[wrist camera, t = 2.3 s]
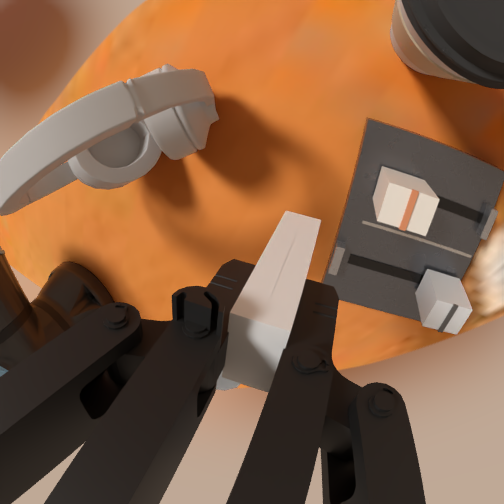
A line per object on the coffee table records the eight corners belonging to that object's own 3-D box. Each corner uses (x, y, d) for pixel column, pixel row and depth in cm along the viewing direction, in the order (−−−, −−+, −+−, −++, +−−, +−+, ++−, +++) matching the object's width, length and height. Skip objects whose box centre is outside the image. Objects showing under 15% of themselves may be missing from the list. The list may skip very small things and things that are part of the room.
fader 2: (415, 293, 28) (422, 327, 24) (427, 268, 27) (437, 300, 22) (446, 302, 27) (456, 335, 23) (459, 278, 26) (473, 310, 22)
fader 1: (372, 198, 25) (376, 222, 21) (382, 165, 24) (389, 182, 19) (413, 211, 25) (425, 237, 20) (424, 179, 23) (440, 199, 19)
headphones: (123, 185, 35) (-10, 271, 18) (97, 127, 32) (-48, 184, 15) (266, 123, 27) (130, 187, 10) (234, 46, 24) (63, 11, 7)
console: (321, 283, 34) (317, 300, 31) (366, 117, 24) (369, 120, 21) (432, 313, 31) (437, 332, 29) (497, 167, 22) (511, 176, 19)
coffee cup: (488, 59, 17) (587, 51, 5) (423, 106, 22) (497, 124, 9) (424, -19, 16) (477, -93, 3) (356, 26, 20) (363, -39, 8)
